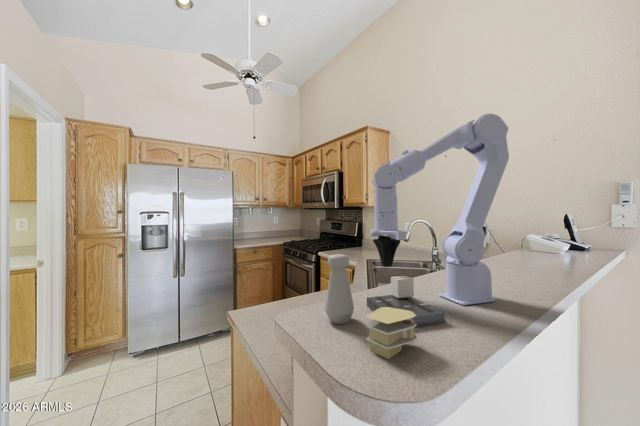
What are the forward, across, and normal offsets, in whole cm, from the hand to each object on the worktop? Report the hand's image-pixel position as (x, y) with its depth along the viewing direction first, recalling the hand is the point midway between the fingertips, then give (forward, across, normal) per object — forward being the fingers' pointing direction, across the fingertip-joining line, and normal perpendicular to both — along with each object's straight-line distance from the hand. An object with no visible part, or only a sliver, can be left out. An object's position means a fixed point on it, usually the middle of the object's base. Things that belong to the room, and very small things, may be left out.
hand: (387, 266), depth 64 cm
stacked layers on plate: (+8, +22, -12) cm, 27 cm away
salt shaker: (+8, +10, -16) cm, 21 cm away
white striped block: (+6, +6, 0) cm, 9 cm away
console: (+8, +11, -3) cm, 14 cm away
